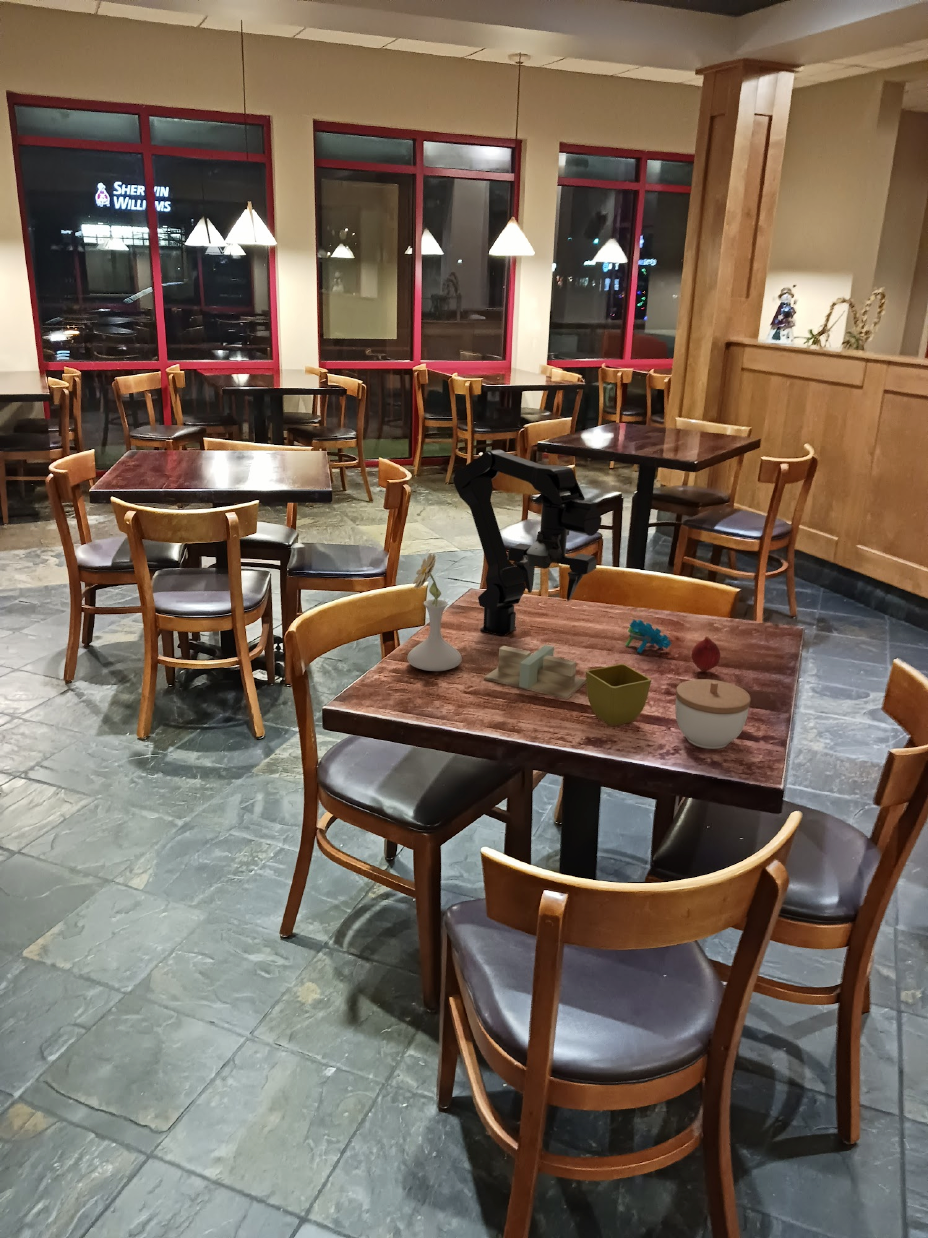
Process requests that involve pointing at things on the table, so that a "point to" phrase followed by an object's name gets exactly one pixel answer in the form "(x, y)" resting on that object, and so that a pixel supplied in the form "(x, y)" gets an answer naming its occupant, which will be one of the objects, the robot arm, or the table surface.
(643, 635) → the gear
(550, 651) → the sage board
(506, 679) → the maple jig
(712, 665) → the onion
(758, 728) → the table surface
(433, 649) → the flower in vase
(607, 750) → the table surface
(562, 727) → the table surface
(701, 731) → the lidded bowl
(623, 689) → the flower pot
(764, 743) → the table surface
